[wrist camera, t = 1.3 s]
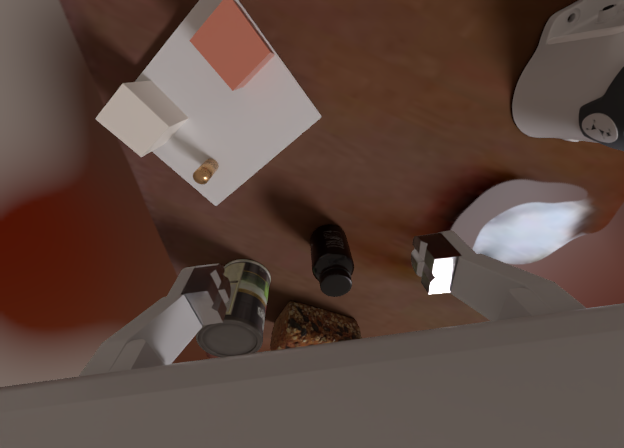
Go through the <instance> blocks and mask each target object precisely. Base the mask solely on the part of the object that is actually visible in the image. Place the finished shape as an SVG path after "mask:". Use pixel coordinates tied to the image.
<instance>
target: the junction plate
mask: <svg viewBox="0 0 624 448" xmlns="http://www.w3.org/2000/svg"><path fill="white" fill-rule="evenodd" d="M222 1H223V0H199V1H198V2H197V4H196V5H195V6H194V8H193V9H192V10H191V11H190V13H189V14H188V15H187V16H186V18H185V19H184V20H183V21H182V23H181V24H180V25H179V26H178V28H177V29H176V30H175V32H174V33H173V34H172V35H171V37H170V38H169V39H168V40H167V42H166V43H165V44H164V45H163V47H162V48H161V49H160V50H159V52H158V53H157V54H156V55H155V57H154V58H153V59H152V61H151V62H150V63H149V64H148V66H147V67H146V68H145V69H144V71H143V72H142V73H141V74H140V76H139V77H138V78H137V79H136V81H135V82H141V81H152V82H153V83H154V84H155V85H156V86H157V87H158V88H159V89H160V90H161V91H162V92H163V93H164V94H165V95H166V96H167V97H168V98H169V99H170V100H171V101H172V102H173V103H174V104H175V105H176V106H177V107H178V108H179V109H180V110H181V111H182V112H183V113H184V114H185V115H186V116H187V117H189V118H188V119H187V120H186V122H185V123H184V124H183V125H182V126H181V127H180V128H179V129H178V130H177V131H176V132H175V133H174V134H173V135H172V136H171V137H170V138H169V140H168V141H167V142H166V143H165V144H164V145H162V146H160V147H158V148H157V149H155V150H153V151H152V152H153V153H154V154H156V155H157V156H158V157H159V158H160V159H161V160H163V161H164V162H165V163H166V164H167V165H168V166H170V167H171V168H172V169H173V170H174V171H175V172H177V173H178V174H179V175H180V176H181V177H182V178H184V179H185V180H186V181H187V182H188V183H189V184H191V185H192V186H193V187H194V188H195V189H196V190H198V191H199V192H200V193H201V194H202V195H203V196H205V197H206V198H207V199H208V200H209V201H210V202H212V203H213V204H214V205H215V206H217V205H218V204H219V203H220V202H222V201H223V200H224V199H225V198H226V197H228V196H229V195H230V194H231V193H232V192H233V191H235V190H236V189H237V188H238V187H239V186H241V185H242V184H243V183H244V182H245V181H246V180H248V179H249V178H250V177H251V176H252V175H254V174H255V173H256V172H257V171H258V170H259V169H261V168H262V167H263V166H264V165H265V164H267V163H268V162H269V161H270V160H271V159H272V158H274V157H275V156H276V155H277V154H278V153H280V152H281V151H282V150H283V149H284V148H285V147H287V146H288V145H289V144H290V143H291V142H293V141H294V140H295V139H296V138H297V137H298V136H300V135H301V134H302V133H303V132H304V131H306V130H307V129H308V128H309V127H310V126H312V125H313V124H314V123H315V122H316V121H317V120H319V119H320V118H321V117H322V116H321V115H320V113H319V112H318V110H317V109H316V108H315V106H314V105H313V104H312V102H311V101H310V99H309V98H308V97H307V95H306V94H305V92H304V91H303V90H302V88H301V87H300V85H299V84H298V83H297V81H296V80H295V78H294V77H293V76H292V74H291V73H290V71H289V70H288V69H287V67H286V66H285V64H284V63H283V62H282V60H281V59H280V57H279V56H278V55H277V53H276V52H275V50H274V49H273V48H272V46H271V45H270V43H269V42H268V41H267V39H266V38H265V36H264V35H263V34H262V32H261V31H260V29H259V28H258V27H257V25H256V24H255V22H254V21H253V20H252V18H251V17H250V15H249V14H248V13H247V11H246V10H245V8H244V7H243V6H242V4H241V3H240V1H239V0H235V1H236V2H237V4H238V5H239V6H240V7H241V8H242V9H243V11H244V12H245V13H246V15H247V16H248V18H249V19H250V20H251V22H252V23H253V25H254V26H255V27H256V29H257V30H258V31H259V33H260V34H261V36H262V37H263V38H264V40H265V41H266V43H267V44H268V45H269V47H270V48H271V50H272V51H273V52H274V54H275V55H274V56H273V57H272V58H271V59H270V60H269V61H268V63H267V64H266V65H265V66H264V67H263V68H262V69H261V70H260V71H259V72H258V73H257V74H256V75H255V76H254V77H253V78H252V79H251V80H250V81H249V82H248V83H247V84H246V85H245V86H244V87H242V88H240V89H237V90H234V91H232V90H231V88H230V87H229V86H228V85H227V84H226V83H225V81H224V80H223V79H222V78H221V77H220V76H219V75H218V73H217V72H216V71H215V70H214V69H213V68H212V66H211V65H210V64H209V63H208V62H207V61H206V59H205V58H204V57H203V56H202V55H201V54H200V52H199V51H198V50H197V49H196V48H195V47H194V45H193V44H192V43H191V42H190V41H189V40H190V39H191V38H192V37H193V36H194V34H195V33H196V32H197V31H198V30H199V28H200V27H201V26H202V25H203V23H204V22H205V21H206V20H207V19H208V17H209V16H210V15H211V14H212V13H213V11H214V10H215V9H216V8H217V7H218V5H219V4H220V3H221V2H222ZM209 158H211V159H214V160H216V161H217V162H218V165H219V167H218V169H217V171H216V172H215V173H214V174H213V176H212V177H211V178H210V180H209V181H208V182H207V183H206V184H198V183H196V182H195V181H194V179H193V173H194V172H195V171H196V170H197V169H198V168H199V167H200V166H201V165H202V164H203V163H204V162H205V161H206V160H207V159H209Z"/></svg>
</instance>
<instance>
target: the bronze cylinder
mask: <svg viewBox="0 0 624 448" xmlns="http://www.w3.org/2000/svg"><path fill="white" fill-rule="evenodd" d="M218 167H219V165H218V162H217V161H216V160H214V159H211V158H209V159H207V160H206V161H205V162H204V163H203V164H202V165H201V166H200V167H199V168H198V169H197V170H196V171H195V172H194V173H193V179H194V181H195V182H196V183H198V184H206V183H207V182H208V181H209V180H210V178H211V177H212V176H213V174H214V173H215V172H216V171H217V169H218Z"/></svg>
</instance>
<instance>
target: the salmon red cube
mask: <svg viewBox="0 0 624 448" xmlns="http://www.w3.org/2000/svg"><path fill="white" fill-rule="evenodd" d="M189 41H190V42H191V43H192V44H193V45H194V47H195V48H196V49H197V50H198V51H199V52H200V54H201V55H202V56H203V57H204V58H205V59H206V61H207V62H208V63H209V64H210V65H211V66H212V68H213V69H214V70H215V71H216V72H217V73H218V75H219V76H220V77H221V78H222V79H223V80H224V81H225V83H226V84H227V85H228V86H229V87H230V88H231V90H232V91H234V90H237V89H240V88H242V87H244V86H245V85H246V84H247V83H248V82H249V81H250V80H251V79H252V78H253V77H254V76H255V75H256V74H257V73H258V72H259V71H260V70H261V69H262V68H263V67H264V66H265V65H266V64H267V63H268V61H269V60H270V59H271V58H272V57H273V56H274V55H275V54H274V52H273V51H272V50H271V48H270V47H269V45H268V44H267V43H266V41H265V40H264V38H263V37H262V36H261V34H260V33H259V31H258V30H257V29H256V27H255V26H254V25H253V23H252V22H251V20H250V19H249V18H248V16H247V15H246V13H245V12H244V11H243V9H242V8H241V7H240V6H239V5H238V4H237V2H236V1H235V0H223V1H222V2H221V3H220V4H219V5H218V7H217V8H216V9H215V10H214V11H213V13H212V14H211V15H210V16H209V17H208V19H207V20H206V21H205V22H204V23H203V25H202V26H201V27H200V28H199V30H198V31H197V32H196V33H195V34H194V36H193V37H192V38H191V39H190V40H189Z"/></svg>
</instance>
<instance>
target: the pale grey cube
mask: <svg viewBox="0 0 624 448" xmlns="http://www.w3.org/2000/svg"><path fill="white" fill-rule="evenodd" d="M188 118H189V117H187V116H186V115H185V114H184V113H183V112H182V111H181V110H180V109H179V108H178V107H177V106H176V105H175V104H174V103H173V102H172V101H171V100H170V99H169V98H168V97H167V96H166V95H165V94H164V93H163V92H162V91H161V90H160V89H159V88H158V87H157V86H156V85H155V84H154V83H153V82H152V81H141V82H130V83H123V84H122V85H121V86H120V87H119V89H118V90H117V91H116V93H115V94H114V95H113V96H112V98H111V99H110V100H109V102H108V103H107V104H106V106H105V107H104V108H103V109H102V111H101V112H100V113H99V115H98V116H97V117H96V120H97V121H98V122H100V123H101V124H102V125H103V126H104V127H106V128H107V129H108V130H109V131H110V132H112V133H113V134H114V135H115V136H116V137H118V138H119V139H120V140H121V141H122V142H124V143H125V144H126V145H127V146H129V147H130V148H131V149H132V150H133V151H135V152H136V153H137V154H138V155H139V156H141V157H143V156H144V155H146V154H148V153H150V152H151V151H153V150H155V149H157V148H158V147H160V146H162V145H164V144H165V143H166V142H167V141H168V140H169V138H170V137H171V136H172V135H173V134H174V133H175V132H176V131H177V130H178V129H179V128H180V127H181V126H182V125H183V124H184V123H185V122H186V120H187V119H188Z"/></svg>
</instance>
